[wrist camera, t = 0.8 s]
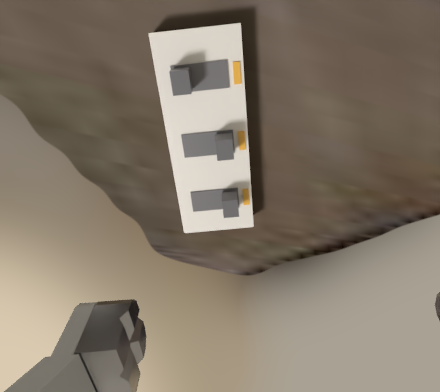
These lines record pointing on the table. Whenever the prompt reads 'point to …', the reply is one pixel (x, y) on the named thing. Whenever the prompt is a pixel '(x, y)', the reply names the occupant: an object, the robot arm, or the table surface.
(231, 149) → the switch
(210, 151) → the switch panel
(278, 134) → the table surface
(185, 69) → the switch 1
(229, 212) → the switch
